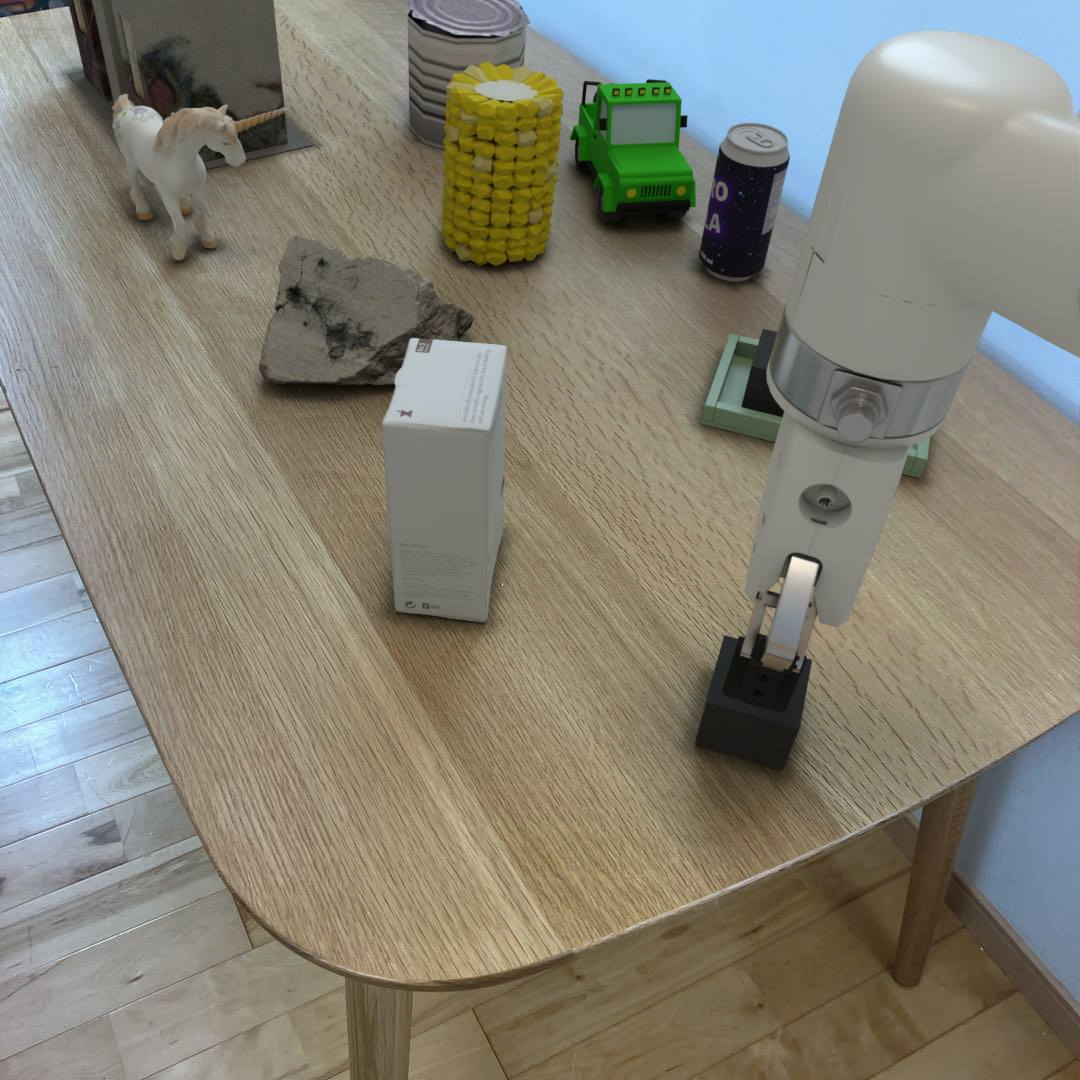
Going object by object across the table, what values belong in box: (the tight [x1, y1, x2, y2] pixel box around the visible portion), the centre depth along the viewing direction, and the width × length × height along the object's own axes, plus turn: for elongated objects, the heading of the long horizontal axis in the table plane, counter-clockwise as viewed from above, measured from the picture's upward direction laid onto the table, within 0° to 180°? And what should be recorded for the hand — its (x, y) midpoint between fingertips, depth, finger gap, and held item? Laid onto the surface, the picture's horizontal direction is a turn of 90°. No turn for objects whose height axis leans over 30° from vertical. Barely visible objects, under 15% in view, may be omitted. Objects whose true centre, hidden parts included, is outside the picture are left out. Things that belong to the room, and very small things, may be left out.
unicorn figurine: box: [112, 94, 288, 261], centre depth 90 cm, size 7×20×13 cm, turn 54°
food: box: [440, 62, 565, 267], centre depth 93 cm, size 15×12×10 cm
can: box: [406, 0, 531, 151], centre depth 108 cm, size 11×11×12 cm
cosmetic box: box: [381, 338, 508, 623], centre depth 65 cm, size 8×6×15 cm
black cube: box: [694, 634, 813, 772], centre depth 62 cm, size 5×5×4 cm
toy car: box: [569, 78, 697, 222], centre depth 102 cm, size 8×17×10 cm, turn 12°
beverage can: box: [698, 122, 791, 283], centre depth 93 cm, size 6×6×12 cm
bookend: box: [66, 0, 315, 170], centre depth 106 cm, size 16×25×16 cm, turn 33°
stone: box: [258, 235, 475, 386], centre depth 82 cm, size 12×17×10 cm
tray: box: [700, 333, 931, 479], centre depth 83 cm, size 16×10×2 cm, turn 72°
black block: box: [741, 328, 784, 417], centre depth 83 cm, size 5×5×4 cm
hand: (769, 627), depth 58 cm, fingers open, 9 cm apart
